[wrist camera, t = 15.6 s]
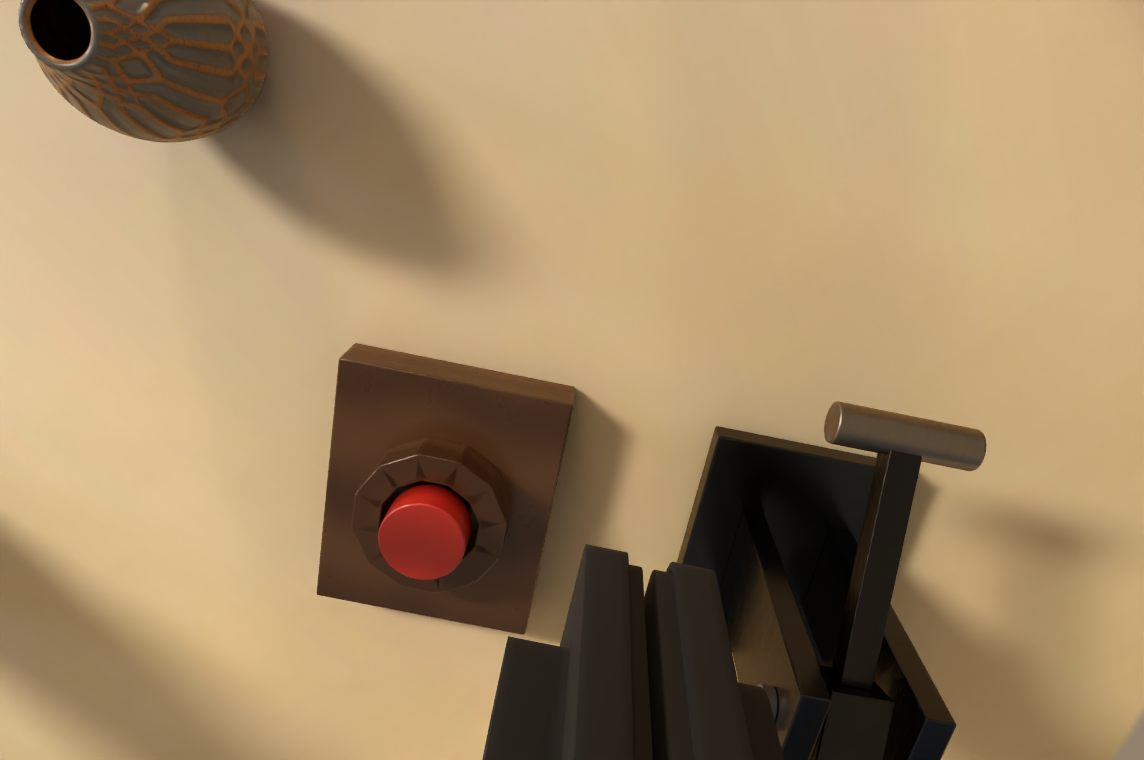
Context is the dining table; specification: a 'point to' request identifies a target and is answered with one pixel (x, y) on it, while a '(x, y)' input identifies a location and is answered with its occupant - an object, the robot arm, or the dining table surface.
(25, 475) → the dining table surface
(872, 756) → the switch lever
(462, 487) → the housing
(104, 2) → the vase
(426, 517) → the button
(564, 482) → the dining table surface
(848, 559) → the switch bracket
